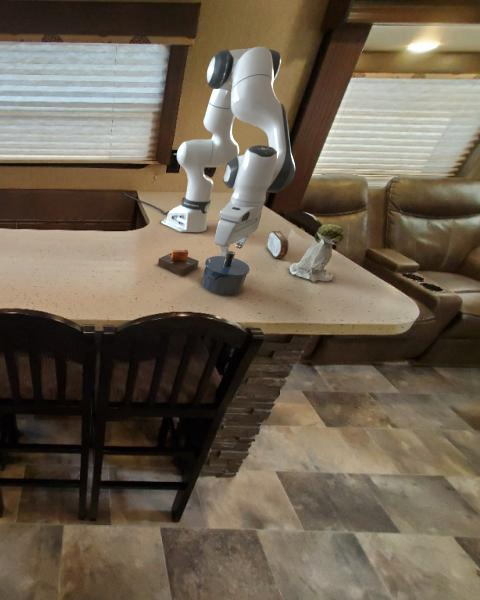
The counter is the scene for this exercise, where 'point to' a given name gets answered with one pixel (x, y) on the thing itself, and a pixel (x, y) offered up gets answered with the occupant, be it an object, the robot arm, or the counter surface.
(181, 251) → the block
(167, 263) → the handle block
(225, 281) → the pot
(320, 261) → the mossy white figurine
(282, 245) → the tin
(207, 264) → the pot lid
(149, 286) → the counter surface
